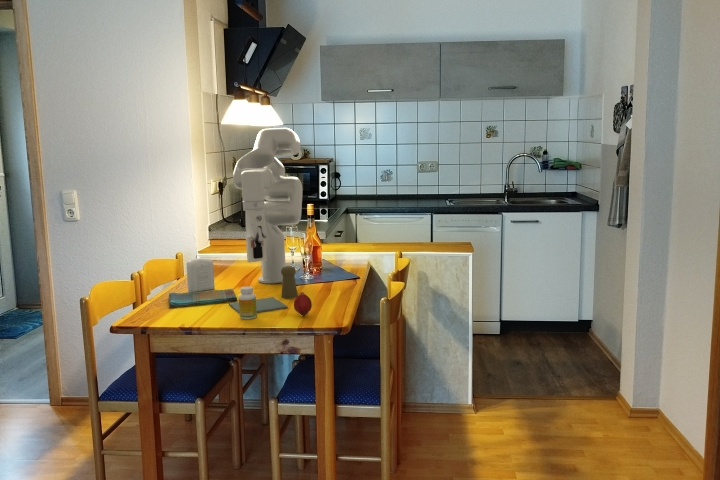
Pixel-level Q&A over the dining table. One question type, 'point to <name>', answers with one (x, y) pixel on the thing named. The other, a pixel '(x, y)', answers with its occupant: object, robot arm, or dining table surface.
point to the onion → (302, 304)
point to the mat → (263, 305)
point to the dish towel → (201, 298)
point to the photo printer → (200, 274)
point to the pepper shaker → (288, 283)
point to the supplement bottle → (247, 303)
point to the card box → (250, 250)
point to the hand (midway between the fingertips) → (256, 257)
